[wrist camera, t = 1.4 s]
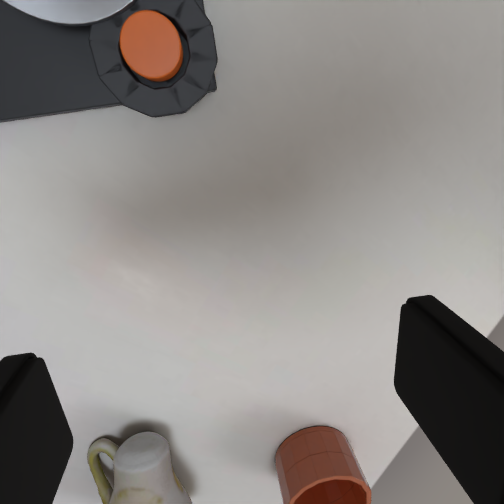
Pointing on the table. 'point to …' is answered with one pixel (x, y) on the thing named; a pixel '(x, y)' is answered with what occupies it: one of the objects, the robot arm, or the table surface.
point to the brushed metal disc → (72, 10)
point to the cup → (320, 469)
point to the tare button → (151, 45)
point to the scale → (99, 64)
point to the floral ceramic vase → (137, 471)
